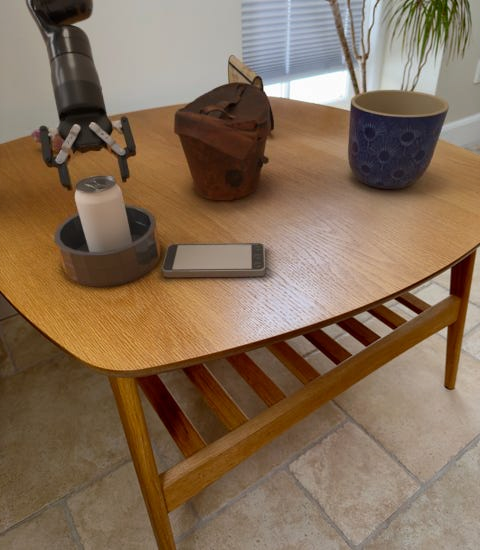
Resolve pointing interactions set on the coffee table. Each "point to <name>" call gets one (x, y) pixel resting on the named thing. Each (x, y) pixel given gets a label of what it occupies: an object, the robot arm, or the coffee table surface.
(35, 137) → the raw meat chunk
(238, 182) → the case
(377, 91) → the planter
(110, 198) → the can
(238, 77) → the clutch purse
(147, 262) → the bowl
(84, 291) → the coffee table surface
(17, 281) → the coffee table surface
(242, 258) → the smartphone
